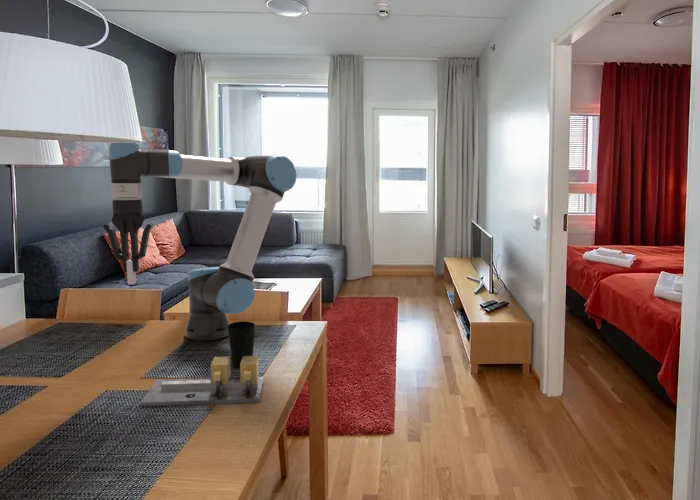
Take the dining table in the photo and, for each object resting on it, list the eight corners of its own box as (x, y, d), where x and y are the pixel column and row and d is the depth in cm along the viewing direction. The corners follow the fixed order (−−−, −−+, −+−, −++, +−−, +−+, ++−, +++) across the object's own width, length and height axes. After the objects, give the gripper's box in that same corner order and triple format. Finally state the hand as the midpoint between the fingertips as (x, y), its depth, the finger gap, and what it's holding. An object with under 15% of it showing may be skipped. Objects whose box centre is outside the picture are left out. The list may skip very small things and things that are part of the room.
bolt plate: (156, 383, 144) (156, 379, 144) (263, 380, 146) (263, 376, 146) (141, 406, 130) (140, 402, 130) (259, 402, 132) (259, 398, 132)
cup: (249, 371, 153) (248, 329, 151) (224, 369, 154) (223, 328, 153) (259, 361, 160) (258, 322, 159) (235, 359, 162) (234, 320, 160)
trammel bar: (165, 383, 141) (164, 358, 140) (259, 381, 143) (258, 355, 142) (155, 399, 132) (153, 371, 131) (255, 396, 134) (255, 368, 133)
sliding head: (215, 381, 142) (214, 356, 141) (230, 380, 142) (230, 356, 141) (209, 396, 133) (208, 370, 132) (225, 395, 133) (224, 369, 132)
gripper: (97, 199, 145) (103, 286, 148) (147, 199, 146) (152, 285, 149) (107, 198, 152) (112, 280, 156) (155, 198, 153) (159, 280, 157)
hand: (132, 283), depth 152 cm, fingers closed
